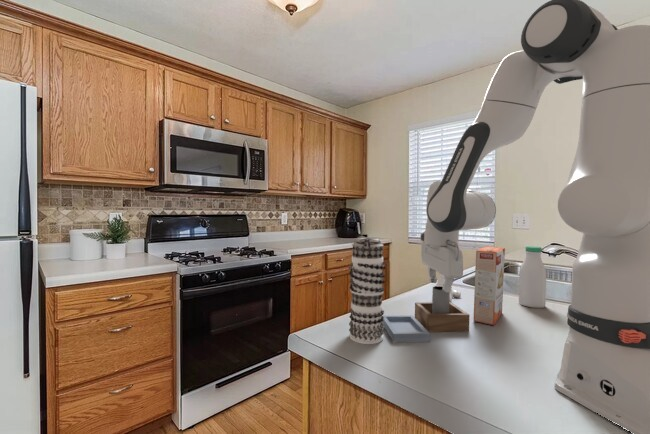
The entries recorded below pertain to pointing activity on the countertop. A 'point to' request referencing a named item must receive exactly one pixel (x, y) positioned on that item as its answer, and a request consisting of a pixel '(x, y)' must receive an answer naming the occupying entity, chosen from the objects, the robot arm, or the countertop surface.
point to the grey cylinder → (440, 301)
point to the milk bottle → (532, 279)
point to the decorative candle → (367, 291)
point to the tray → (405, 329)
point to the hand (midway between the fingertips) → (439, 286)
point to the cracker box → (489, 284)
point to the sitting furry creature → (453, 292)
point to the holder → (442, 318)
